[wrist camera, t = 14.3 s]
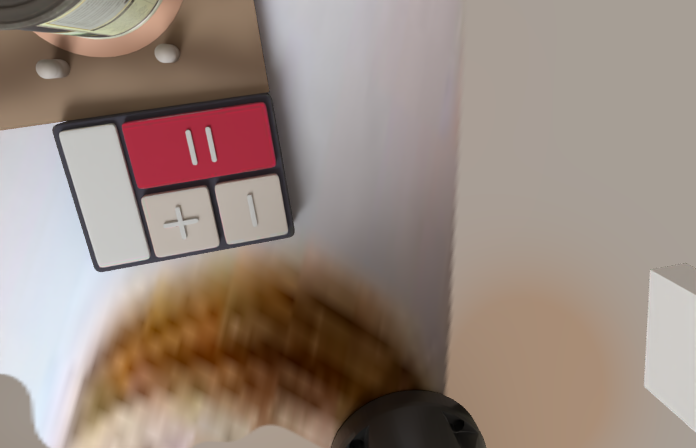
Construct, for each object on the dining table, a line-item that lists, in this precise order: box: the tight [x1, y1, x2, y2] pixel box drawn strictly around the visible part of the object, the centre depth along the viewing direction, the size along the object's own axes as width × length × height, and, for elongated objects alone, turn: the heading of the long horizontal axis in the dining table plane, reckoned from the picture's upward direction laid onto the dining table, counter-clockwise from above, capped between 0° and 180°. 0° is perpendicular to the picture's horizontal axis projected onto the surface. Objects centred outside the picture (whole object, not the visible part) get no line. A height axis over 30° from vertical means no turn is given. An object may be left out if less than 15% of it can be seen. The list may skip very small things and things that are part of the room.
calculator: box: [53, 93, 294, 272], centre depth 40 cm, size 11×4×15 cm
